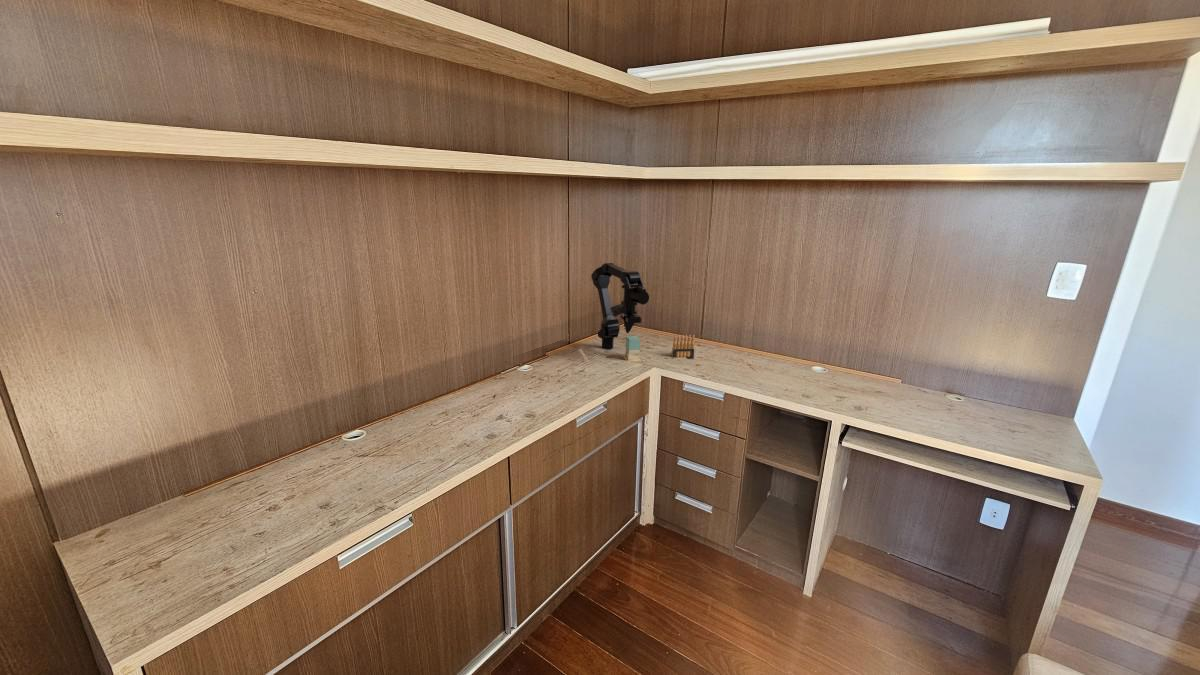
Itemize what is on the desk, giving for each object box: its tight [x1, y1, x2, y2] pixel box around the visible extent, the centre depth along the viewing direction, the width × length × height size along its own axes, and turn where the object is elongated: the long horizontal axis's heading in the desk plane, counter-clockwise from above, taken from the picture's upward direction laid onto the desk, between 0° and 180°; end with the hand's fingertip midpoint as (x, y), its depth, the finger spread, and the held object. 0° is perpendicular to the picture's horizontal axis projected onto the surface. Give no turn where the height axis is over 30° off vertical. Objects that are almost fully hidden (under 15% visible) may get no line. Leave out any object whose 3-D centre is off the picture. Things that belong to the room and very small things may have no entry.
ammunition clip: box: [670, 334, 695, 360], centre depth 234 cm, size 11×2×12 cm, turn 101°
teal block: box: [625, 335, 641, 351], centre depth 227 cm, size 5×5×5 cm
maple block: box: [624, 347, 640, 362], centre depth 229 cm, size 5×5×5 cm
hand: (627, 332), depth 228 cm, fingers closed
